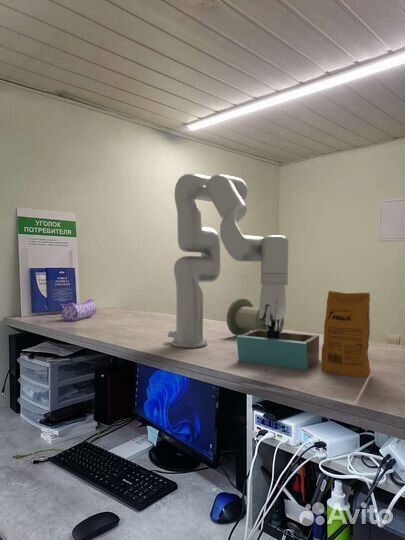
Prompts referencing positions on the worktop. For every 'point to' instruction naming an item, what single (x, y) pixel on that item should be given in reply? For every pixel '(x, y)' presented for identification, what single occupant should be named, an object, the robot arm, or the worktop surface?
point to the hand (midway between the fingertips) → (273, 344)
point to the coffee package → (346, 334)
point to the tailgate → (273, 351)
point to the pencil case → (79, 310)
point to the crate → (310, 339)
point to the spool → (245, 318)
